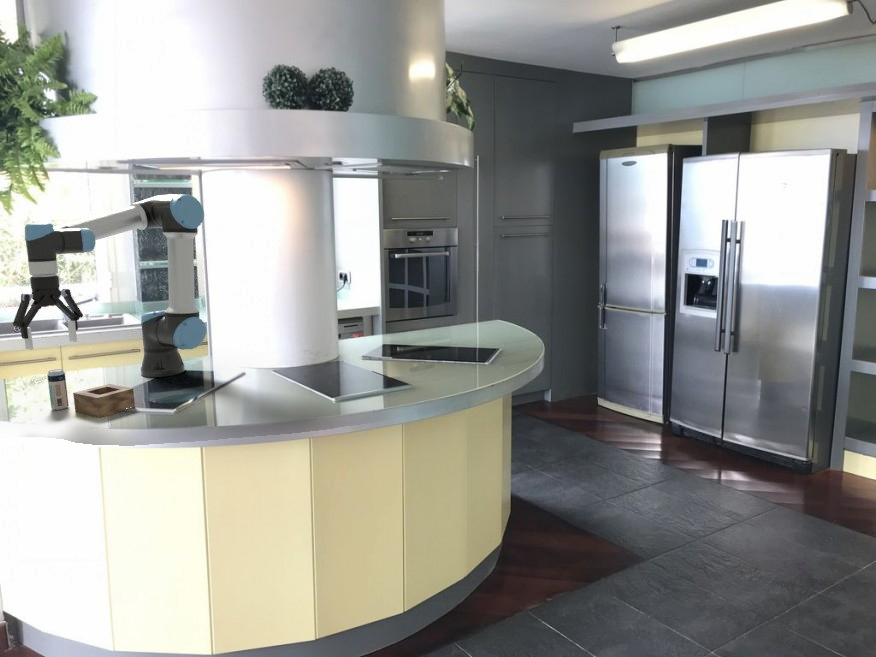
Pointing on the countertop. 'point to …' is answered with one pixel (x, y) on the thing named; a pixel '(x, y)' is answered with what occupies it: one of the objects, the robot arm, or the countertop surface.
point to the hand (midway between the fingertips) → (52, 345)
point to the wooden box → (103, 400)
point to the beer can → (57, 389)
